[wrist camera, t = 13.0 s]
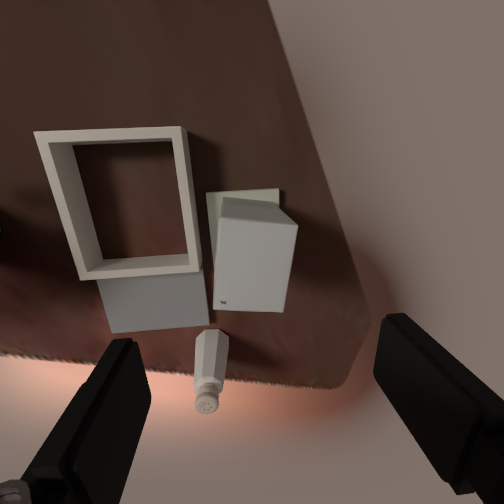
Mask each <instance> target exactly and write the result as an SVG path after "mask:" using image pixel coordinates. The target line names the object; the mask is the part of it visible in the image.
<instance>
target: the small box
mask: <svg viewBox="0 0 504 504" xmlns="http://www.w3.org/2000/svg"><path fill="white" fill-rule="evenodd" d="M298 227H299V226H298V225H297V224H296V223H295V222H294V221H293V220H292V219H291V218H289V217H288V216H287V215H286V214H285V213H284V212H283V211H281V210H280V209H279V208H278V207H277V206H276V205H275V204H274V203H272V202H271V201H262V200H252V199H242V198H232V197H222V203H221V208H220V214H219V220H218V231H217V244H216V257H215V268H214V294H213V309H214V310H234V311H261V312H284V308H285V303H286V297H287V291H288V285H289V279H290V274H291V268H292V262H293V256H294V250H295V244H296V238H297V232H298Z"/></svg>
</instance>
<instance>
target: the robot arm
mask: <svg viewBox="0 0 504 504" xmlns="http://www.w3.org/2000/svg"><path fill="white" fill-rule="evenodd" d="M373 373H374V377H375V379H376V381H377V383H378V384H379V386H380V387H381V389H382V390H383V392H384V393H385V395H386V396H387V398H388V399H389V401H390V402H391V404H392V405H393V407H394V408H395V410H396V411H397V413H398V414H399V416H400V417H401V419H402V420H403V422H404V423H405V425H406V426H407V428H408V429H409V431H410V432H411V434H412V435H413V437H414V438H415V440H416V442H417V443H418V445H419V446H420V448H421V449H422V451H423V452H424V454H425V455H426V457H427V458H428V459H429V461H430V463H431V464H432V466H433V467H434V469H435V470H436V472H437V473H438V475H439V476H440V477H441V479H442V480H443V481H445V482H447V483H449V484H450V486H451V487H452V489H453V490H454V492H455V493H456V495H462V494H469V493H474V492H475V491H476V493H477V495H478V496H479V497H480V499H481V500H482V501H483V504H504V400H503V399H501V398H500V397H499V396H498V395H497V394H496V393H494V391H492V390H491V389H490V388H489V387H488V386H487V385H486V384H484V383H483V382H482V381H481V380H480V379H479V378H478V377H476V376H475V375H474V374H473V373H472V372H471V371H470V370H469V369H467V368H466V367H465V366H464V365H463V364H462V363H461V362H459V361H458V360H457V359H456V358H455V357H454V356H452V354H450V353H449V352H448V351H447V350H446V349H445V348H443V347H442V346H441V345H440V344H439V343H438V342H437V341H436V340H434V339H433V338H432V337H431V336H430V335H429V334H428V333H426V332H425V331H424V330H423V329H422V328H421V327H420V326H419V325H417V324H416V323H415V322H414V321H413V320H412V319H411V318H409V317H408V316H407V315H406V314H404V313H394V314H387V315H386V317H385V318H384V319H382V323H381V328H380V334H379V340H378V346H377V352H376V358H375V363H374V369H373ZM150 404H151V392H150V388H149V385H148V381H147V377H146V373H145V369H144V365H143V361H142V358H141V354H140V350H139V346H138V343H137V342H133V340H132V339H131V338H123V339H114V340H113V341H112V342H111V343H110V345H109V346H108V348H107V349H106V351H105V352H104V354H103V356H102V357H101V359H100V360H99V362H98V363H97V365H96V367H95V368H94V370H93V371H92V373H91V375H90V376H89V377H88V379H87V381H86V382H85V383H84V384H82V386H81V387H80V388H79V390H78V391H77V393H76V394H75V396H74V397H73V399H72V400H71V402H70V403H69V405H68V406H67V408H66V409H65V411H64V413H63V414H62V416H61V417H60V419H59V420H58V422H57V423H56V425H55V426H54V428H53V429H52V431H51V432H50V434H49V436H48V437H47V439H46V440H45V442H44V443H43V445H42V447H41V448H40V449H39V451H38V452H37V454H36V456H35V457H34V459H33V460H32V462H31V463H30V465H29V466H28V468H27V469H26V471H25V473H24V474H23V476H22V477H21V479H17V480H8V481H5V482H2V483H0V504H119V502H120V499H121V496H122V493H123V490H124V487H125V483H126V480H127V477H128V474H129V471H130V468H131V465H132V461H133V458H134V455H135V452H136V449H137V445H138V443H139V439H140V436H141V433H142V430H143V427H144V424H145V421H146V417H147V414H148V411H149V408H150Z"/></svg>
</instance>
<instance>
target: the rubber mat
mask: <svg viewBox="0 0 504 504" xmlns="http://www.w3.org/2000/svg"><path fill="white" fill-rule="evenodd" d="M222 197H232V198H242V199H252V200H262V201H271V202H272V203H274V204H275V205H276V206H277V207H278V208H279V189H278V188H275V189H256V190H238V191H220V192H206V200H207V209H208V218H209V228H210V237H211V246H212V256H213V265H214V268H215V257H216V244H217V231H218V220H219V214H220V208H221V203H222Z"/></svg>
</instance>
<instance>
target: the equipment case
mask: <svg viewBox="0 0 504 504" xmlns="http://www.w3.org/2000/svg"><path fill="white" fill-rule="evenodd" d="M34 135H35V138H36V141H37V145H38V148H39V151H40V154H41V157H42V160H43V164H44V167H45V170H46V173H47V176H48V179H49V183H50V186H51V189H52V192H53V195H54V198H55V202H56V205H57V208H58V211H59V214H60V217H61V221H62V224H63V227H64V230H65V233H66V236H67V240H68V243H69V246H70V249H71V252H72V255H73V259H74V262H75V265H76V268H77V271H78V274H79V278H80V280H94V279H96V281H97V284H98V287H99V291H100V294H101V298H102V301H103V305H104V308H105V312H106V315H107V318H108V322H109V325H110V329H111V332H112V333H122V332H134V331H145V330H156V329H168V328H179V327H191V326H202V325H210V316H209V308H208V300H207V291H206V283H205V275H204V267H203V259H202V250H201V242H200V234H199V226H198V218H197V210H196V201H195V193H194V185H193V177H192V169H191V160H190V152H189V144H188V136H187V131H186V130H185V129H184V128H182V127H181V126H173V127H146V128H120V129H93V130H67V131H40V132H34ZM162 141H172V143H173V150H174V157H175V164H176V171H177V178H178V185H179V192H180V199H181V206H182V213H183V220H184V227H185V234H186V241H187V248H188V254H177V255H163V256H148V257H134V258H120V259H105V260H103V257H102V254H101V250H100V246H99V243H98V239H97V235H96V231H95V228H94V224H93V220H92V217H91V213H90V209H89V206H88V202H87V198H86V195H85V191H84V187H83V184H82V180H81V176H80V173H79V169H78V165H77V162H76V158H75V154H74V151H73V147H72V145H89V144H113V143H137V142H162Z"/></svg>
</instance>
